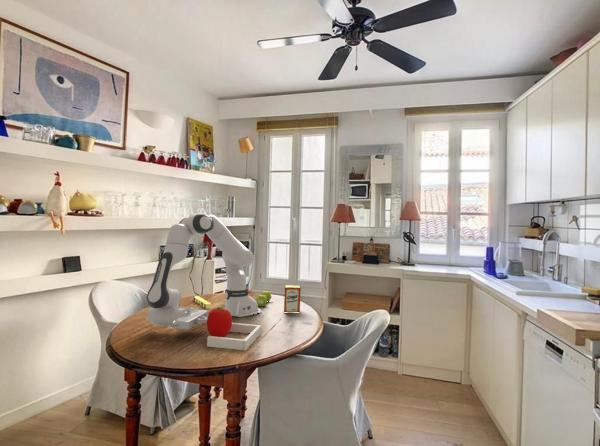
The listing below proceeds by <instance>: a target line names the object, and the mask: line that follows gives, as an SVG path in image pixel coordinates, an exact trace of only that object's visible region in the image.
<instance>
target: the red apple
mask: <svg viewBox="0 0 600 446" xmlns="http://www.w3.org/2000/svg"><path fill="white" fill-rule="evenodd" d="M232 323H233V316H231V313H230V312H229V311H228V310H226V309H224V308H222V307H221V308H220V307H217V308H214V309H211V310H210V311H209V312H208V318H207V323H206V327H207V331H208V335H209V336H215V337H224V338H226V337H227V335H229V333H230V332H229V331H230V329H231V326H232Z"/></svg>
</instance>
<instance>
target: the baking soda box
mask: <svg viewBox="0 0 600 446" xmlns="http://www.w3.org/2000/svg"><path fill="white" fill-rule="evenodd" d="M283 298H284V299H283V300H284V302H283V303H284V304H283V305H284V306H283V313H284V312H301V285H294V284H291V285H289V284H285V285H284V297H283Z"/></svg>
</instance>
